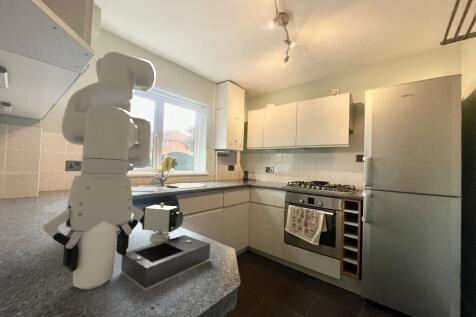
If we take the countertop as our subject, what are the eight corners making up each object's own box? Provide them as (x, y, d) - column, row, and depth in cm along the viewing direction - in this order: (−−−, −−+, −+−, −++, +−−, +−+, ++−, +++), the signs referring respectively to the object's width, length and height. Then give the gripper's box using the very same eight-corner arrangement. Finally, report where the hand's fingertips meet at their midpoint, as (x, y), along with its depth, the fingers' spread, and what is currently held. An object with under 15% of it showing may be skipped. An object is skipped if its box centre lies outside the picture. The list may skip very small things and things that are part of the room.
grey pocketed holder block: (120, 272, 41) (122, 251, 41) (183, 249, 54) (184, 234, 54) (145, 291, 35) (146, 267, 35) (209, 260, 48) (210, 243, 48)
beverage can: (62, 290, 34) (68, 221, 35) (93, 272, 41) (97, 214, 41) (94, 294, 34) (99, 223, 34) (120, 275, 40) (124, 215, 41)
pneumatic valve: (174, 250, 53) (176, 205, 54) (136, 246, 55) (139, 203, 56) (183, 243, 58) (185, 202, 59) (149, 239, 61) (151, 200, 62)
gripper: (139, 169, 48) (134, 243, 47) (39, 167, 34) (29, 272, 33) (156, 170, 44) (151, 251, 42) (50, 167, 30) (38, 288, 28)
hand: (98, 259), depth 38 cm, fingers open, 7 cm apart
